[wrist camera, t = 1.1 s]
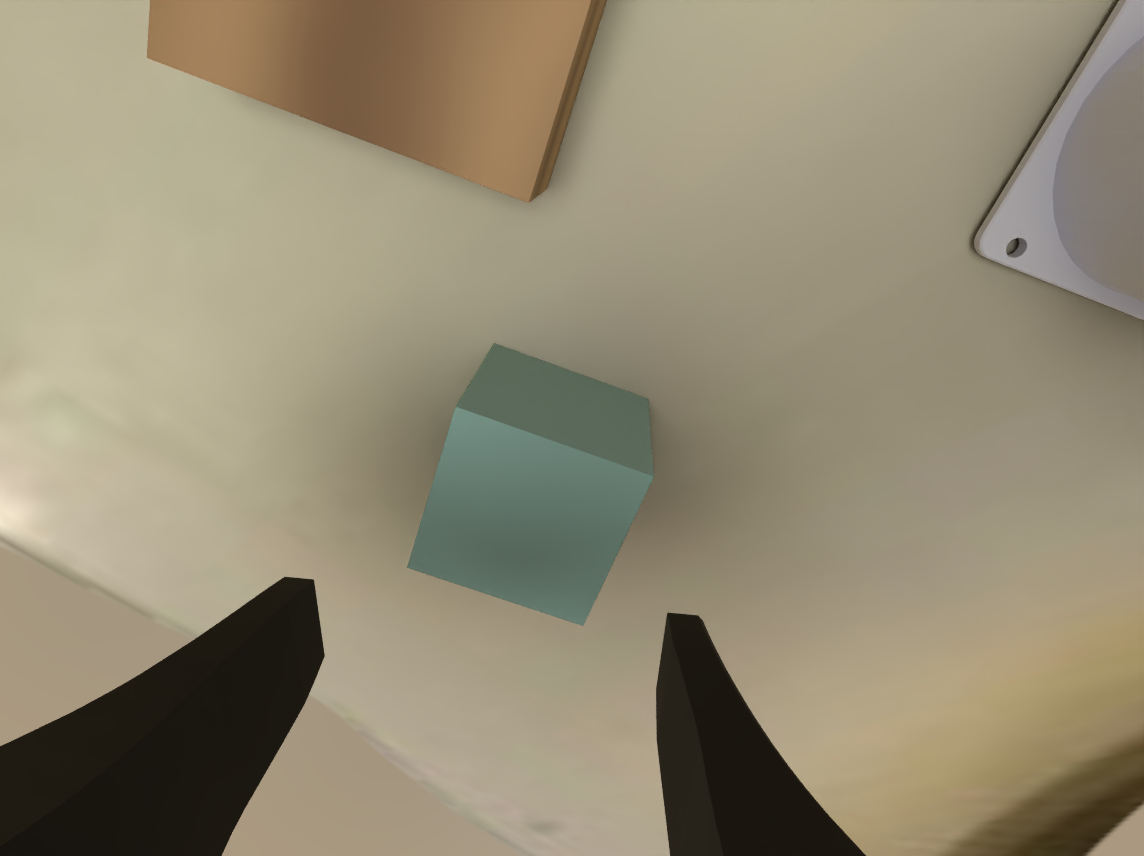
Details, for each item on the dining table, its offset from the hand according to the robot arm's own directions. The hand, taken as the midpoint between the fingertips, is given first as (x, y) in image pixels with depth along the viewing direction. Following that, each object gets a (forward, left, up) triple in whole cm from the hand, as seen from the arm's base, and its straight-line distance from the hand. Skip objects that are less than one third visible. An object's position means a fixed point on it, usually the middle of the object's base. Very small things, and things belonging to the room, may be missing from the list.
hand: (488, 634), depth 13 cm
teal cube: (0, 0, -10) cm, 10 cm away
